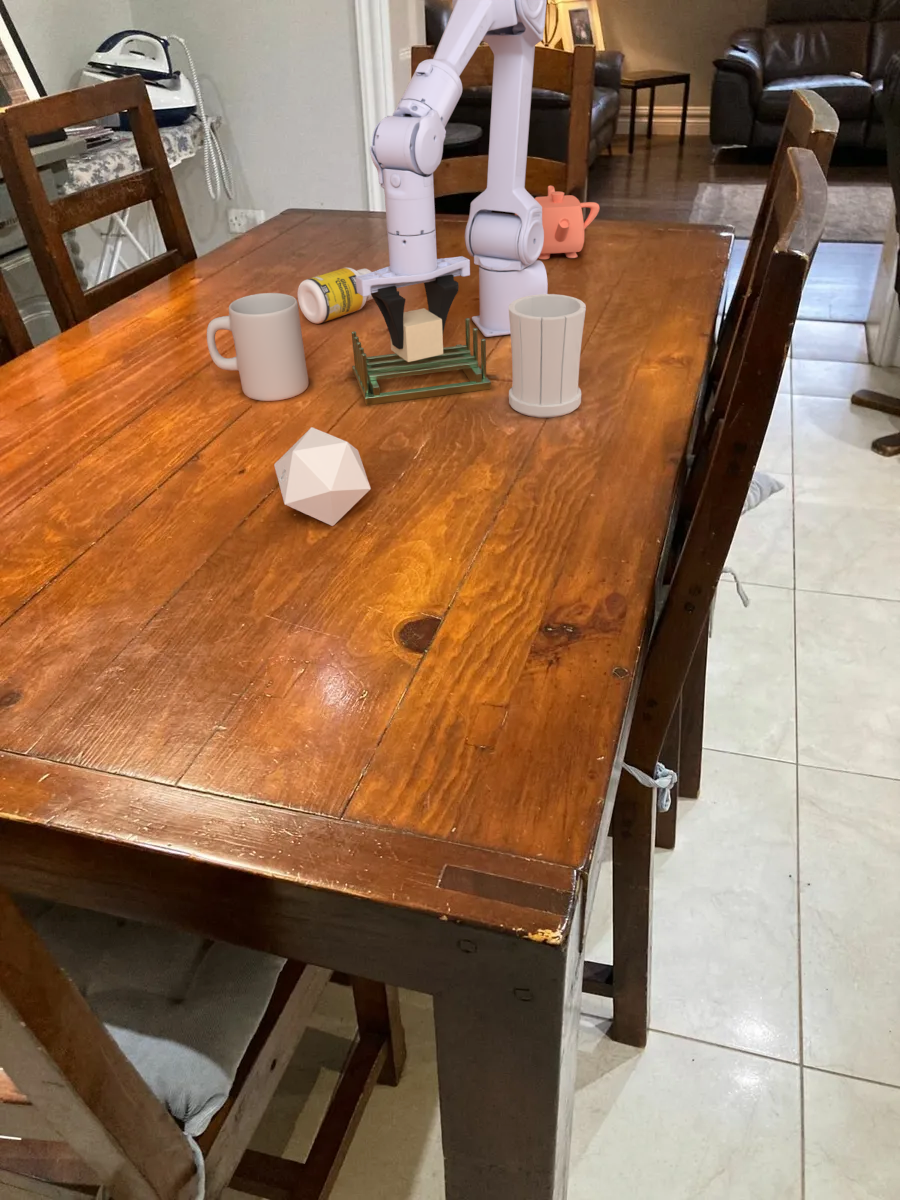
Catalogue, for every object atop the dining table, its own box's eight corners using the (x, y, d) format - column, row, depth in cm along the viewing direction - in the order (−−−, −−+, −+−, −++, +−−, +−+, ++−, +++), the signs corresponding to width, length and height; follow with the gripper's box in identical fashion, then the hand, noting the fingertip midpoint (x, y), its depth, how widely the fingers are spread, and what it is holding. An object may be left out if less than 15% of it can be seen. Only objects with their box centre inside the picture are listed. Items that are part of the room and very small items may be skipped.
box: (425, 342, 122) (424, 308, 119) (443, 354, 118) (442, 319, 115) (391, 350, 120) (388, 315, 117) (407, 362, 116) (405, 326, 114)
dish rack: (469, 358, 127) (468, 314, 123) (490, 389, 118) (490, 343, 114) (352, 372, 124) (348, 328, 120) (366, 405, 115) (361, 358, 112)
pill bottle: (310, 274, 135) (371, 255, 141) (289, 288, 140) (348, 269, 146) (328, 318, 136) (387, 297, 143) (307, 330, 141) (365, 309, 148)
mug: (313, 374, 124) (302, 291, 118) (304, 400, 117) (292, 313, 111) (223, 377, 124) (207, 294, 118) (209, 403, 117) (192, 317, 111)
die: (305, 490, 99) (247, 443, 91) (374, 448, 97) (321, 395, 89) (322, 552, 95) (263, 508, 87) (396, 509, 93) (342, 459, 85)
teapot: (608, 253, 164) (612, 191, 158) (563, 268, 158) (565, 205, 152) (549, 239, 173) (550, 180, 167) (503, 253, 167) (503, 192, 161)
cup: (490, 392, 117) (489, 297, 110) (554, 379, 120) (557, 285, 113) (528, 425, 109) (530, 323, 102) (596, 409, 112) (602, 310, 105)
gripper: (449, 213, 116) (453, 321, 123) (341, 232, 110) (352, 344, 118) (477, 225, 110) (479, 337, 118) (365, 245, 105) (375, 361, 113)
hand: (417, 342), depth 118 cm, fingers closed on box, 5 cm apart
